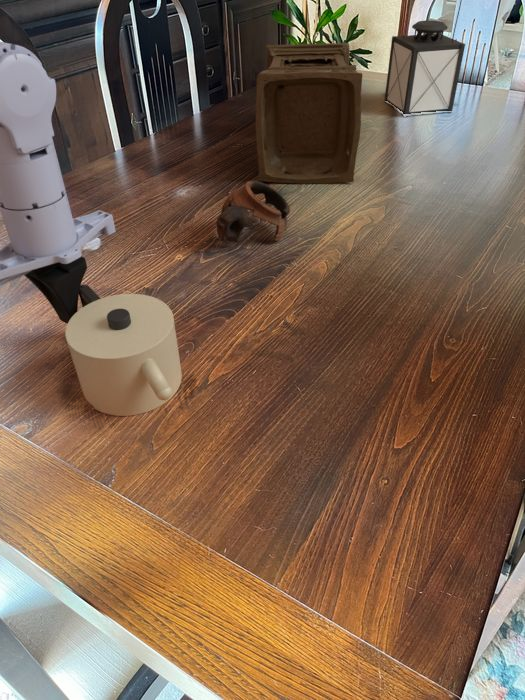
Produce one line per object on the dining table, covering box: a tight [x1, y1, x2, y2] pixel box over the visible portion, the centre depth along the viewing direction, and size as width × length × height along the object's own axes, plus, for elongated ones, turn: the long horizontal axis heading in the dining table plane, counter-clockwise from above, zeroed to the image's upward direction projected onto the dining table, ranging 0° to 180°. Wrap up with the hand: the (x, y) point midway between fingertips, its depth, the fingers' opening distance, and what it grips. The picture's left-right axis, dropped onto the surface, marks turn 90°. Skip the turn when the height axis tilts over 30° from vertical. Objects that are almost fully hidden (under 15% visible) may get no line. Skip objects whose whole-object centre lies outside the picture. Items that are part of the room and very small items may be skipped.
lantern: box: [384, 0, 466, 114], centre depth 114 cm, size 11×11×28 cm
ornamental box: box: [255, 42, 363, 185], centre depth 100 cm, size 35×18×18 cm, turn 177°
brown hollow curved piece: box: [215, 180, 291, 243], centre depth 77 cm, size 12×10×8 cm
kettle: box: [64, 284, 183, 417], centre depth 52 cm, size 17×10×8 cm, turn 37°
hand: (69, 321), depth 57 cm, fingers closed
